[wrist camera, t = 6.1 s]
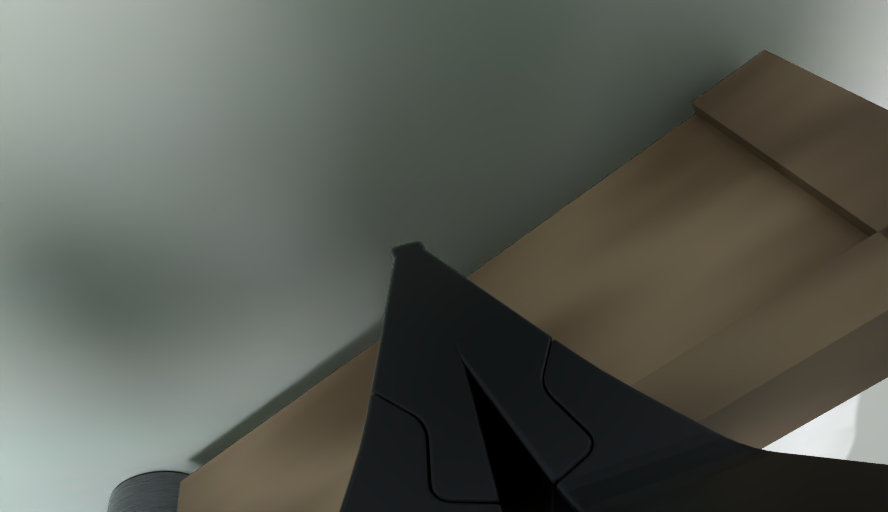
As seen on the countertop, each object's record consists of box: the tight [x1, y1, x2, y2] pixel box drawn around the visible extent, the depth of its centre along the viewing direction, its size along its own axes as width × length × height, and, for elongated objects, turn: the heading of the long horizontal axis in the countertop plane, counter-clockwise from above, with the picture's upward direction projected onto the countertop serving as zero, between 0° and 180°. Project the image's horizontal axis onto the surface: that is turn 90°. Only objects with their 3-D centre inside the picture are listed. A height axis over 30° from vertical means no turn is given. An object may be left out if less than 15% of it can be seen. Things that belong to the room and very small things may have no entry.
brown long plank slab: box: [177, 50, 888, 512], centre depth 11 cm, size 16×2×6 cm, turn 126°
